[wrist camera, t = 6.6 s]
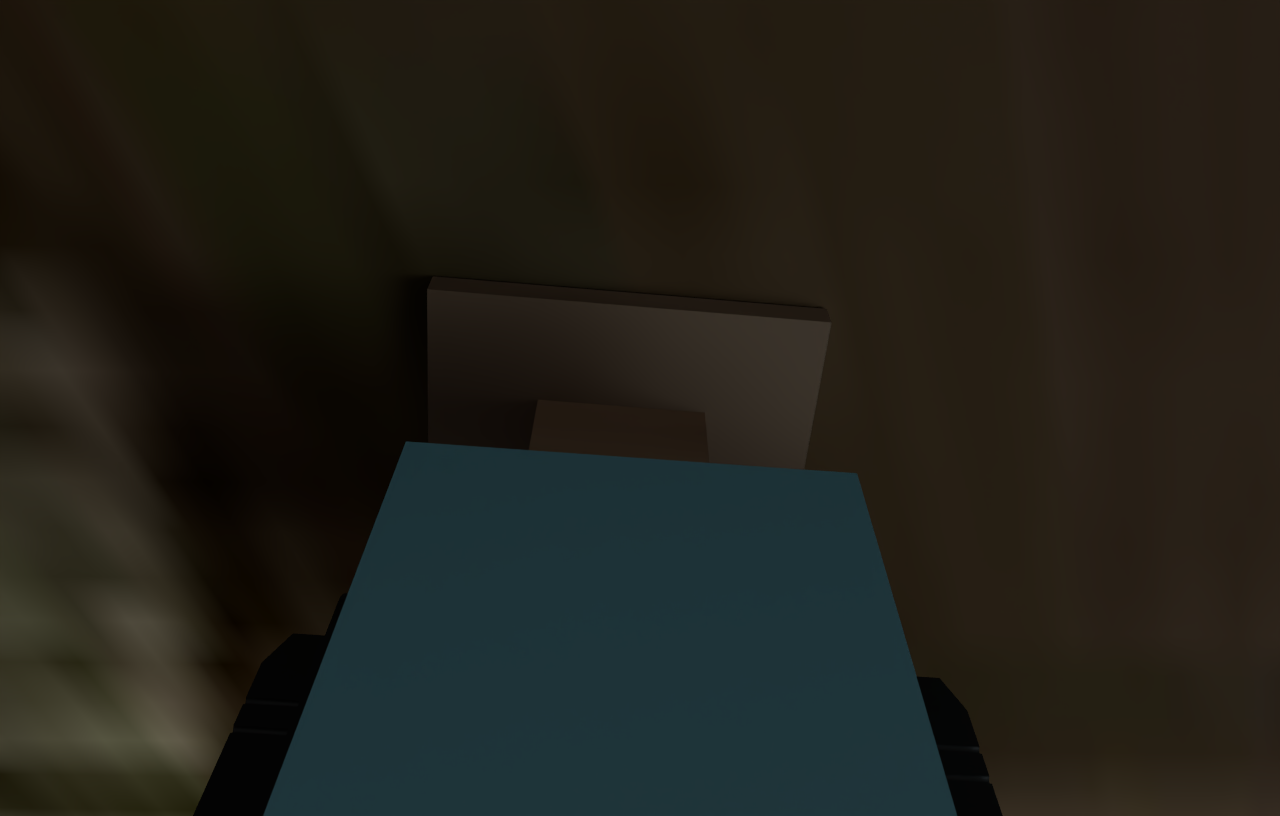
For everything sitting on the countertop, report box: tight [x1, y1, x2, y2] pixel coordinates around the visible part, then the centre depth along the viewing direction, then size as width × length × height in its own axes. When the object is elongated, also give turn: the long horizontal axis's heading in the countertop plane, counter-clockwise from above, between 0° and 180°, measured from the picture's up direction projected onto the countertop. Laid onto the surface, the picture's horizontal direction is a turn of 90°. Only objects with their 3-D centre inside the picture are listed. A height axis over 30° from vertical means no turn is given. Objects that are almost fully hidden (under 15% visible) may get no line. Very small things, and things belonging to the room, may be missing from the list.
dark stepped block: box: [427, 276, 831, 470], centre depth 16 cm, size 6×6×6 cm
